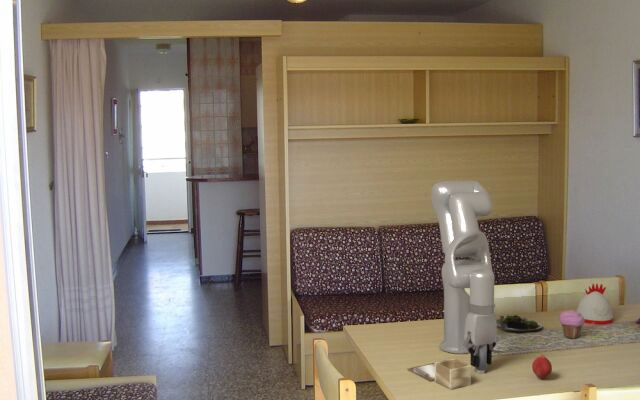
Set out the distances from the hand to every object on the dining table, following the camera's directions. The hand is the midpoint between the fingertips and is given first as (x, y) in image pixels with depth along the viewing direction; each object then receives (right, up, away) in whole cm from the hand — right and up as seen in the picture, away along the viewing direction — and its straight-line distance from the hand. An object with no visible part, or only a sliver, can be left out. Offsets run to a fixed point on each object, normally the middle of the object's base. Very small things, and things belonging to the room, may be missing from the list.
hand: (480, 364), depth 212 cm
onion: (+17, -3, -6) cm, 19 cm away
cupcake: (+42, +1, +36) cm, 55 cm away
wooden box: (-11, -4, -9) cm, 15 cm away
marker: (0, -3, 0) cm, 3 cm away
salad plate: (+26, +2, +48) cm, 55 cm away
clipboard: (-13, -3, +2) cm, 14 cm away
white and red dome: (+60, +4, +57) cm, 83 cm away
